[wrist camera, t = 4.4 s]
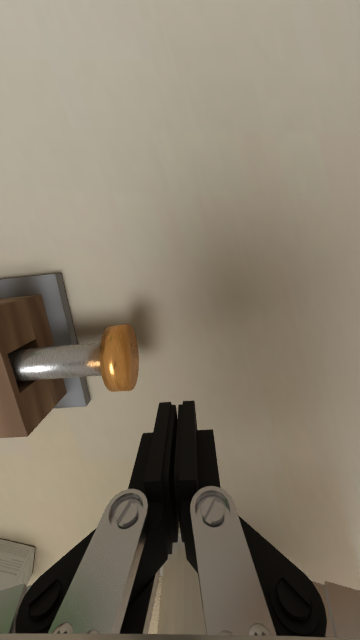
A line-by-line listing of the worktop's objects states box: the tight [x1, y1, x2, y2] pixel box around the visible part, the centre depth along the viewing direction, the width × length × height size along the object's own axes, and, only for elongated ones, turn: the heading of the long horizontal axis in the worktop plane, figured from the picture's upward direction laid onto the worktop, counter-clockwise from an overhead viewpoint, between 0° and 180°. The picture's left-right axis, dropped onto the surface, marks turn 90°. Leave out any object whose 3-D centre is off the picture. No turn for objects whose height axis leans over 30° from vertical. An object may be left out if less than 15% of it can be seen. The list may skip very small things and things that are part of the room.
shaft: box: [7, 324, 139, 392], centre depth 22 cm, size 20×6×6 cm, turn 96°
